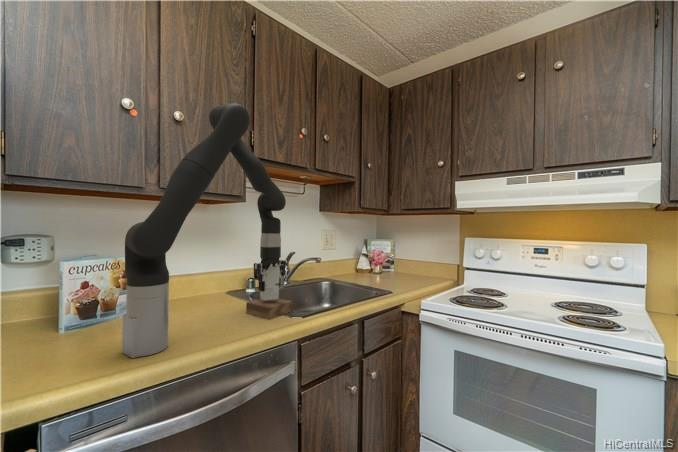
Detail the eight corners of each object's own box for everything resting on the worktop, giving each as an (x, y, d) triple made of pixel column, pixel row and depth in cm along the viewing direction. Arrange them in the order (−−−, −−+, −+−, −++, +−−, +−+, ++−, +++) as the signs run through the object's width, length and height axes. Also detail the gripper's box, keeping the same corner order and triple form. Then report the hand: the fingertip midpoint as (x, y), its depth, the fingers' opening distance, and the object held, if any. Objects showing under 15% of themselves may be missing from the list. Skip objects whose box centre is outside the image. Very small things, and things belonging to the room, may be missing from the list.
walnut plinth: (268, 319, 100) (268, 308, 100) (246, 313, 107) (246, 302, 107) (292, 311, 110) (292, 301, 110) (270, 306, 117) (270, 296, 117)
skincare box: (263, 300, 105) (264, 267, 105) (259, 298, 109) (260, 266, 109) (279, 298, 108) (280, 266, 108) (275, 296, 112) (275, 265, 112)
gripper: (262, 246, 100) (261, 294, 100) (291, 245, 112) (290, 287, 112) (248, 245, 105) (247, 291, 105) (277, 244, 117) (276, 285, 116)
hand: (269, 289), depth 108 cm, fingers closed on skincare box, 7 cm apart
